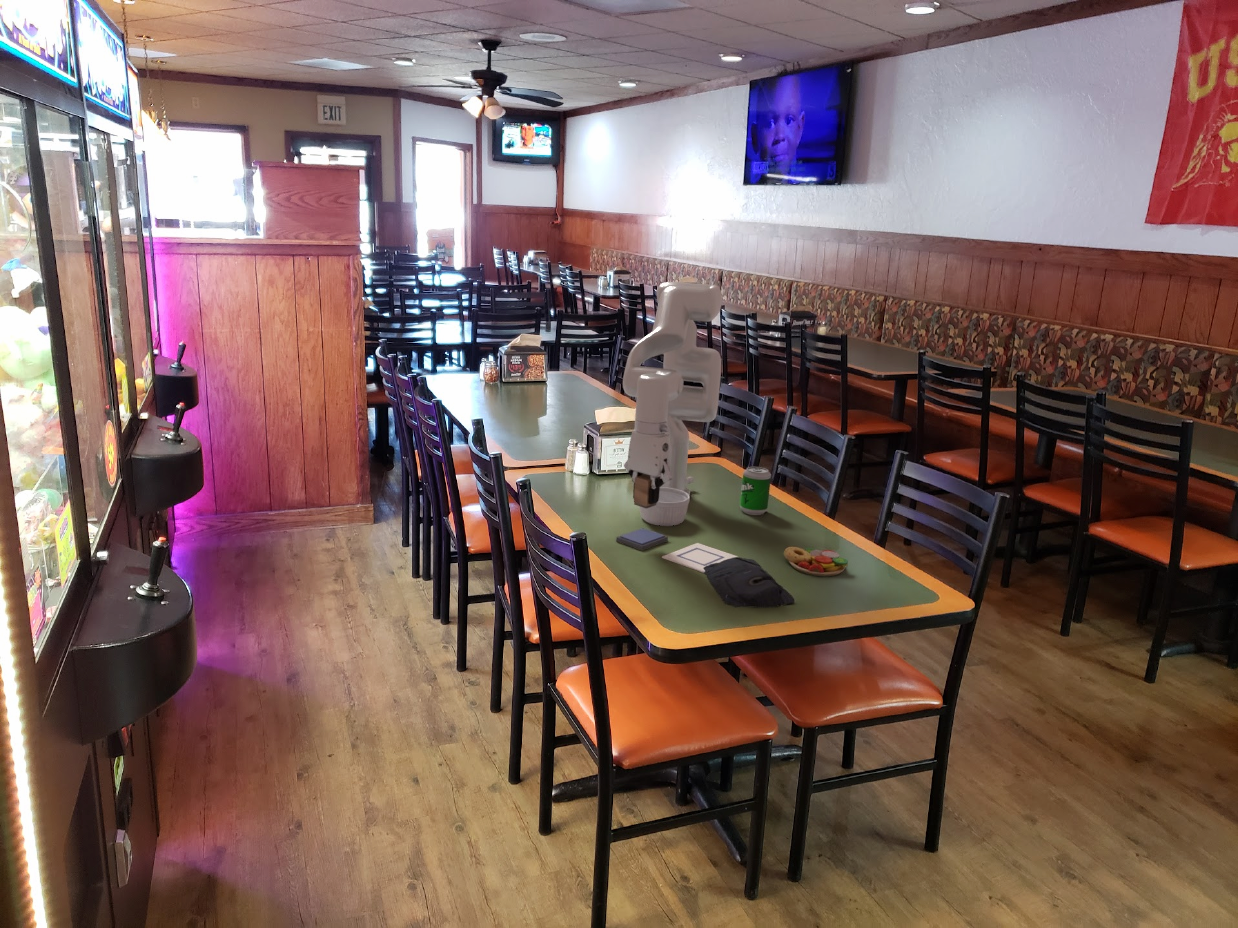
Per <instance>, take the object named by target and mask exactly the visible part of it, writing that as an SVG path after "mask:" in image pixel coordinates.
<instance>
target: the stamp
mask: <svg viewBox="0 0 1238 928" xmlns="http://www.w3.org/2000/svg"><path fill="white" fill-rule="evenodd" d="M656 481H657V478H656ZM649 488H652V487H651V478H650V475H646V474H643V475H640V476H637V477H635V489H634V488H633V489H634V499H633V505H635V506H637V507H639V508H640V507H643V508H646V509H647V508H650V507H652V506H655V505H656V503H657V502H656V503H654V504H649V503H648V500H649Z"/></svg>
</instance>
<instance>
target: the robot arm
mask: <svg viewBox="0 0 1238 928" xmlns="http://www.w3.org/2000/svg"><path fill="white" fill-rule="evenodd" d="M656 299H657V300H656V301H657V308H656V314H655V318H654V322H653V326H652V330H651V332H649V333H648V334H647V335H646V336H644V337H643V338H641V339H640V340H639V341H638V342H637V343H636V344H635V345H634V346H633V347H632V348H631V350H630V351H629V354H628V356H627V360H626V363H625V368H624V373H623V377H622V388H623V391H624V393H625V394H626V395H627V396H629V397H632V398H635V415H634V418H635V419H634V429H633V430H632V432H631V435H630V439H629V444H628V445H629V446H628V451H627V452H628V453H627V460H626V461H625V463H624V465H623V467H624V469H625V470H626V471H627V473H628V474H629V476H630V478H631V482H632V483H633V489H632V493H633V495H632V499H633V500H634V489H635V477H637V476H640V475H643V474H646V475H650V478H651V487H652V488H649V500H648V503H649V504H654V503H656V502H658V500H659V490H660V487H667V488H674V489H678V490H681V491H684V492H686V493H687V494H688V495H689V496H691V490H689V488H688V487H687V486H688V484H692V483H694V481H695V479H694V477H693V476H688V477H687V469H688V455H689V447H690V446H689V445H690V434H689V430H688V429H687V427H686V425H685V424H684V422H683V421H689V422H690V421H692V422H702V423H710V422H713V420H714V419H716V418H717V414H718V408H719V407H718V406H719V397H720V387H721V378H722V377H721V375H722V357H721V353H720V352H719V351H717V350H716V349H714V348H710V347H702V346H701V347H700V346H699V347H698V346H697V335H698V334H697V333H698V328H697V325H696V321H697V322H706V323H707V322H712V321H713V320H714V319H715V318H716V317H717V316H718V315H719V313H720V311H721V308H722V306H723V293H722V290H721V287H719V286H718V285H716V284H708V283H696V282H695V283H693V282H683V281H666V282H662V283H661V284H659V286H657V290H656ZM660 355H663V362H662V363H663V365H662V366H663V368H661V367H652V366H650V367H649V366H642V364H644V362H645V361H647V360H648V359H651V358H654V357H656V356H660ZM684 381H685V382H691V383H692V382H694V383H700V384H702V386H703V387H702V386H693V385H692V386H691V385H684ZM656 478H657V481H656Z"/></svg>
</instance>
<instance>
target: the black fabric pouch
mask: <svg viewBox="0 0 1238 928" xmlns="http://www.w3.org/2000/svg"><path fill="white" fill-rule="evenodd" d="M703 569H704V570H705V572H704V573H703V574H704V575H705V576H706V578H707V580H709V581H708V582H709V584H710V585H711V586H712V588H714V591H715V592H716V593H717V595H718V596H719V598H720V599H721V600H722V602H723V603H724V604H725V605H727V606H728V605H729V606H730V605H731V606H733V607H734V608H748V607H749V608H776V607H780V606H786V605H787V604H790V605H791V604H794V603H795V598H794V597H793V595H792V594H791V593H790V592H789V591H788V590H786V589H785V588H784V587H783V586H782V585H780V584H779V583H778V582H777V581H776V579H775V578H774V577H773V575H771V574H770V573H768V571H767V570H765V569H764V568H763V567H762V566H761V564H759V562H757V561H756V560H755V559H752V558H745V557H740V556H738V557H733V558H730V559H727V560H723V561H721V562H720V563H714V564H710V565H708V566H705V567H704V568H703Z"/></svg>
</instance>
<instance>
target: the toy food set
mask: <svg viewBox="0 0 1238 928" xmlns="http://www.w3.org/2000/svg"><path fill="white" fill-rule="evenodd" d="M783 556H784V557H785V559H786V560H788V563H789V565H791V566H792V567H793V568H794V569H795V570H797V571H799V572H801V573H804V574H806V575H812V576H815V577H817V576H818V577H832V576H833V577H834V576H836V575H839V574H840V573H842V572H844V570H845V568H846V567H848V565H849V564H848V562H849V561H848V559H846V558H843V557H840V554H838V553H837V552H836V551H835V550H832V549H824V550H820V549H815V548H813V547H807V548H805V549H803V548H800V547H796V546H788V547H786V548H785V550H784V552H783Z"/></svg>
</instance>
